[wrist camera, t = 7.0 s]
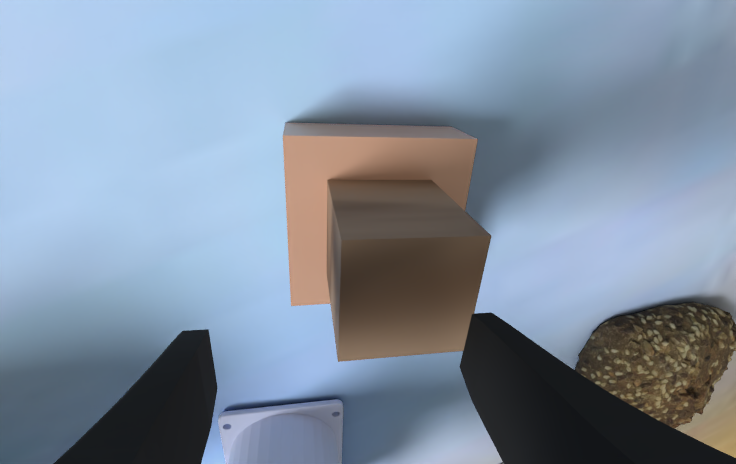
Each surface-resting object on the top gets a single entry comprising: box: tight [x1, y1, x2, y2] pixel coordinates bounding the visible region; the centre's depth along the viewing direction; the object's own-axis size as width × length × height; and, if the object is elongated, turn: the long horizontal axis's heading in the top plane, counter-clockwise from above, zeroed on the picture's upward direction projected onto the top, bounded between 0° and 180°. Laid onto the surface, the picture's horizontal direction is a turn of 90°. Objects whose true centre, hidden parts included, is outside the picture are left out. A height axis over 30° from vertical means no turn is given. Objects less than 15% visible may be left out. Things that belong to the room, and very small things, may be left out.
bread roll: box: [575, 302, 736, 428], centre depth 27 cm, size 13×12×5 cm
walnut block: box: [327, 180, 491, 362], centre depth 14 cm, size 4×4×6 cm
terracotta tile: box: [283, 122, 478, 306], centre depth 18 cm, size 8×8×3 cm
